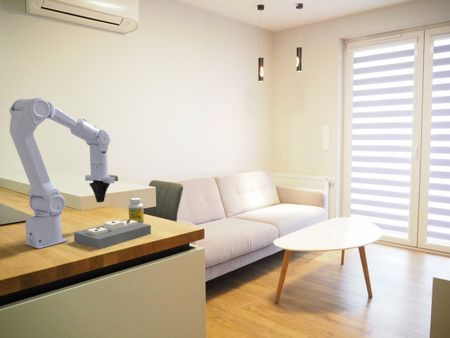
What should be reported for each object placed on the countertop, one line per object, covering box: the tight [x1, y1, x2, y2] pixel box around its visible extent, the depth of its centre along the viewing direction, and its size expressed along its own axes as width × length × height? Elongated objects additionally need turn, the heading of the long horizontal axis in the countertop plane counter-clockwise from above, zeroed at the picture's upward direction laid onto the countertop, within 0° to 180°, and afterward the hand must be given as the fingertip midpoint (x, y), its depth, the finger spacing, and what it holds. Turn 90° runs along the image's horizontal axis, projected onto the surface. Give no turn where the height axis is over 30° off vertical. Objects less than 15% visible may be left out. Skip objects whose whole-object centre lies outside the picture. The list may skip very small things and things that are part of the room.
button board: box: [73, 219, 152, 250], centre depth 116 cm, size 20×13×3 cm, turn 144°
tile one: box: [103, 219, 124, 231], centre depth 115 cm, size 4×4×3 cm
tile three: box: [121, 219, 138, 227], centre depth 120 cm, size 4×4×3 cm
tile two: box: [87, 226, 108, 236], centre depth 111 cm, size 4×4×3 cm
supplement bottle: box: [128, 197, 145, 224], centre depth 133 cm, size 5×5×10 cm
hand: (100, 202), depth 127 cm, fingers closed
